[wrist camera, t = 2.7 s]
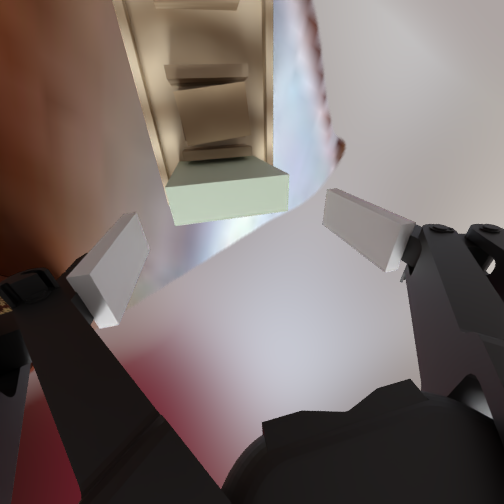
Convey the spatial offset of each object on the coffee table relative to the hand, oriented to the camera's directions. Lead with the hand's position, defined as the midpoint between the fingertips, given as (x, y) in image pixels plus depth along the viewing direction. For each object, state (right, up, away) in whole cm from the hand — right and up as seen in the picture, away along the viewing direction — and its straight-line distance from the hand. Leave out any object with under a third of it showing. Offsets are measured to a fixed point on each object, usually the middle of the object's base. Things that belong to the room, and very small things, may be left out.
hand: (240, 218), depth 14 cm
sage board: (-4, +9, +14) cm, 18 cm away
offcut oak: (-3, +13, +8) cm, 16 cm away
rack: (-4, +15, +12) cm, 20 cm away
